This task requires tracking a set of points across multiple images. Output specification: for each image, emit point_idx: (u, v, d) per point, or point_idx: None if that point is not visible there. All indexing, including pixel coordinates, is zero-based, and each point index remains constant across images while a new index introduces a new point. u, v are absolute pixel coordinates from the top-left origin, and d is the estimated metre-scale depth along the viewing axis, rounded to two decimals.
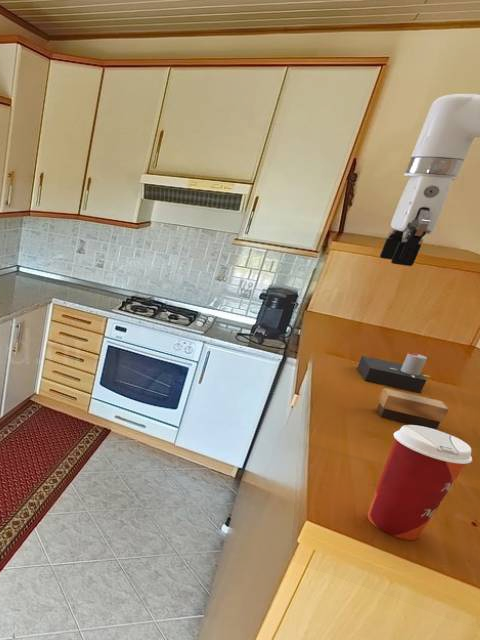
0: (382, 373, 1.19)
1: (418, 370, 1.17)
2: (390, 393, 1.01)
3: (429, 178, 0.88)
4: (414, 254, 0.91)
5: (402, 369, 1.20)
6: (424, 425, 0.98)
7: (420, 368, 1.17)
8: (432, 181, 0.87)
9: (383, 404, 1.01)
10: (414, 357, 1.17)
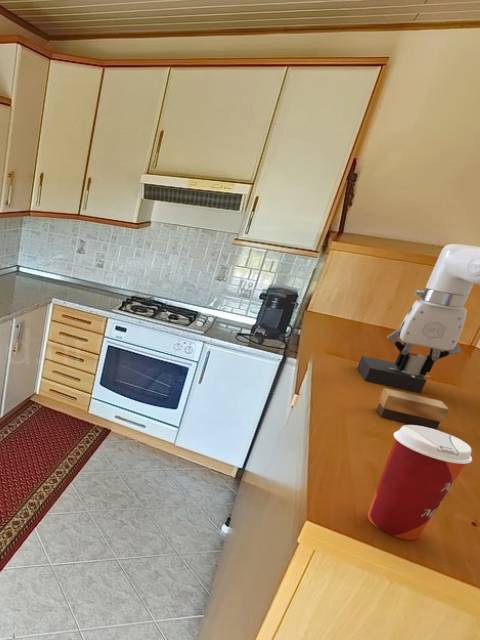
0: (382, 373, 1.19)
1: (418, 370, 1.17)
2: (390, 393, 1.01)
3: (415, 301, 1.16)
4: (402, 361, 1.19)
5: None
6: (424, 425, 0.98)
7: (420, 368, 1.17)
8: (414, 303, 1.16)
9: (383, 404, 1.01)
10: (414, 357, 1.17)
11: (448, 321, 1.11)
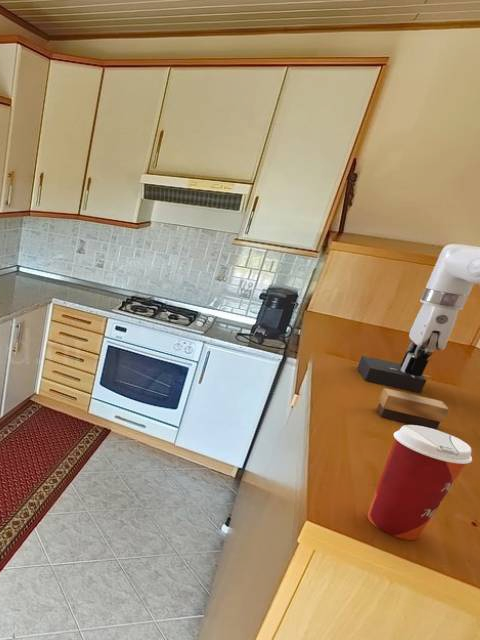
0: (382, 373, 1.19)
1: None
2: (390, 393, 1.01)
3: (440, 308, 1.10)
4: (423, 367, 1.16)
5: None
6: (424, 425, 0.98)
7: None
8: (442, 311, 1.10)
9: (383, 404, 1.01)
10: None
11: None
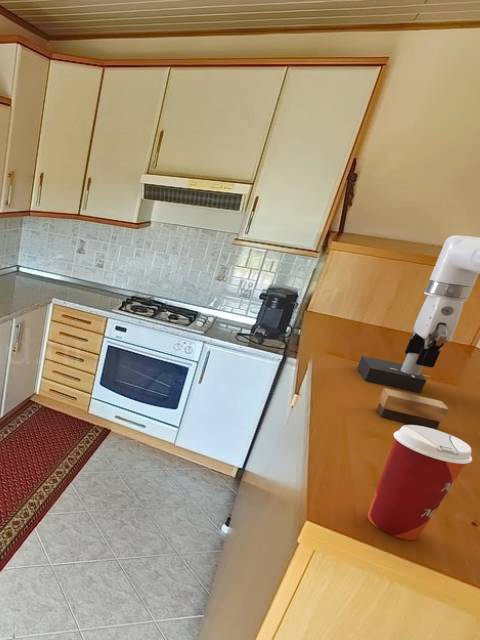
0: (382, 373, 1.19)
1: None
2: (390, 393, 1.01)
3: (445, 300, 1.09)
4: (434, 358, 1.12)
5: (414, 373, 1.18)
6: (424, 425, 0.98)
7: None
8: (448, 303, 1.09)
9: (383, 404, 1.01)
10: None
11: None
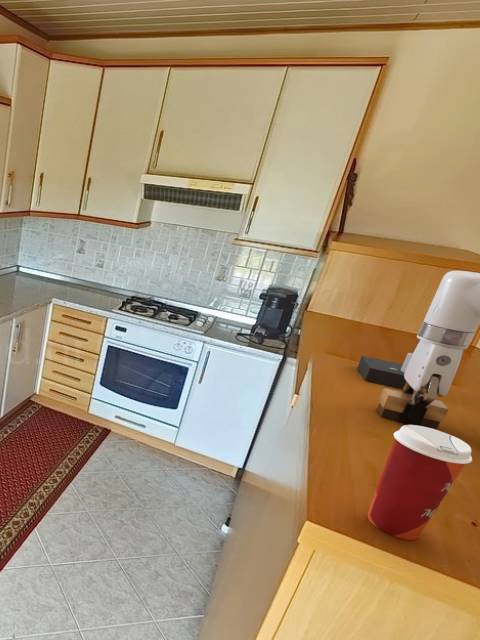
0: (382, 373, 1.19)
1: None
2: (390, 393, 1.01)
3: (441, 348, 0.92)
4: (421, 415, 0.98)
5: None
6: (424, 425, 0.98)
7: None
8: (444, 351, 0.92)
9: (383, 404, 1.01)
10: None
11: None
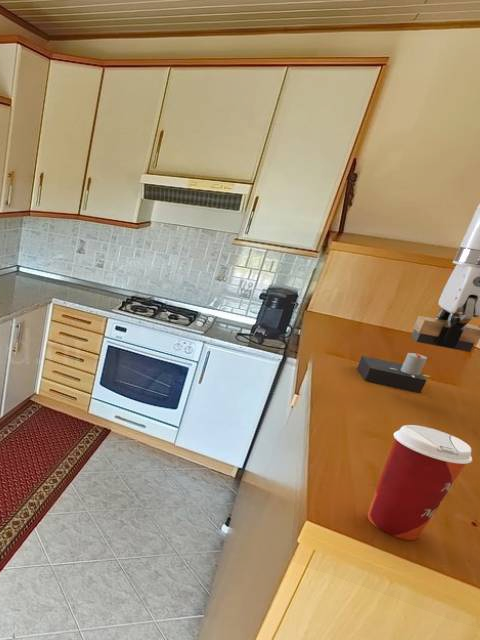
0: (382, 373, 1.19)
1: None
2: (426, 319, 1.05)
3: (478, 269, 0.97)
4: (457, 338, 1.02)
5: (414, 373, 1.18)
6: (459, 347, 1.03)
7: None
8: None
9: (419, 329, 1.06)
10: None
11: None
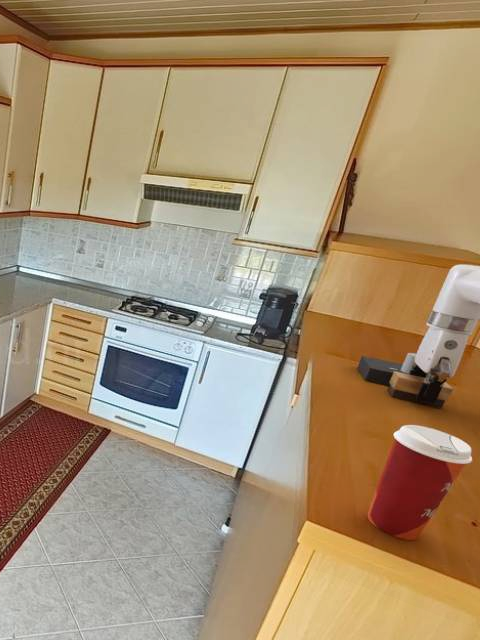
0: (382, 373, 1.19)
1: None
2: (400, 376, 1.12)
3: (449, 333, 1.03)
4: (436, 394, 1.06)
5: None
6: (431, 404, 1.10)
7: None
8: (451, 336, 1.03)
9: (394, 385, 1.12)
10: None
11: None
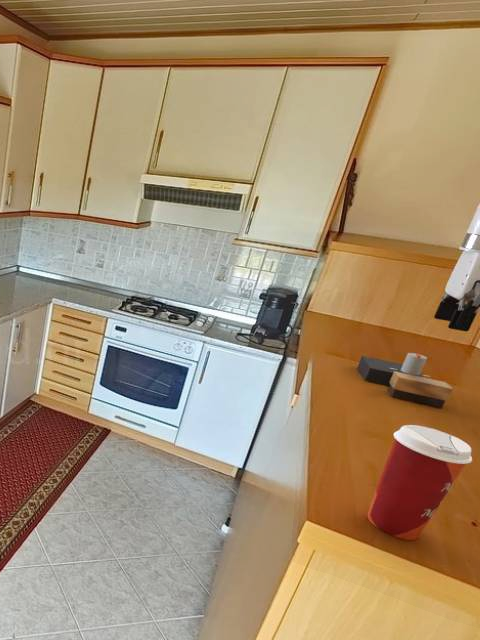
0: (382, 373, 1.19)
1: None
2: (400, 376, 1.12)
3: None
4: (470, 321, 1.00)
5: (414, 373, 1.18)
6: (431, 404, 1.10)
7: None
8: None
9: (394, 385, 1.12)
10: None
11: None
